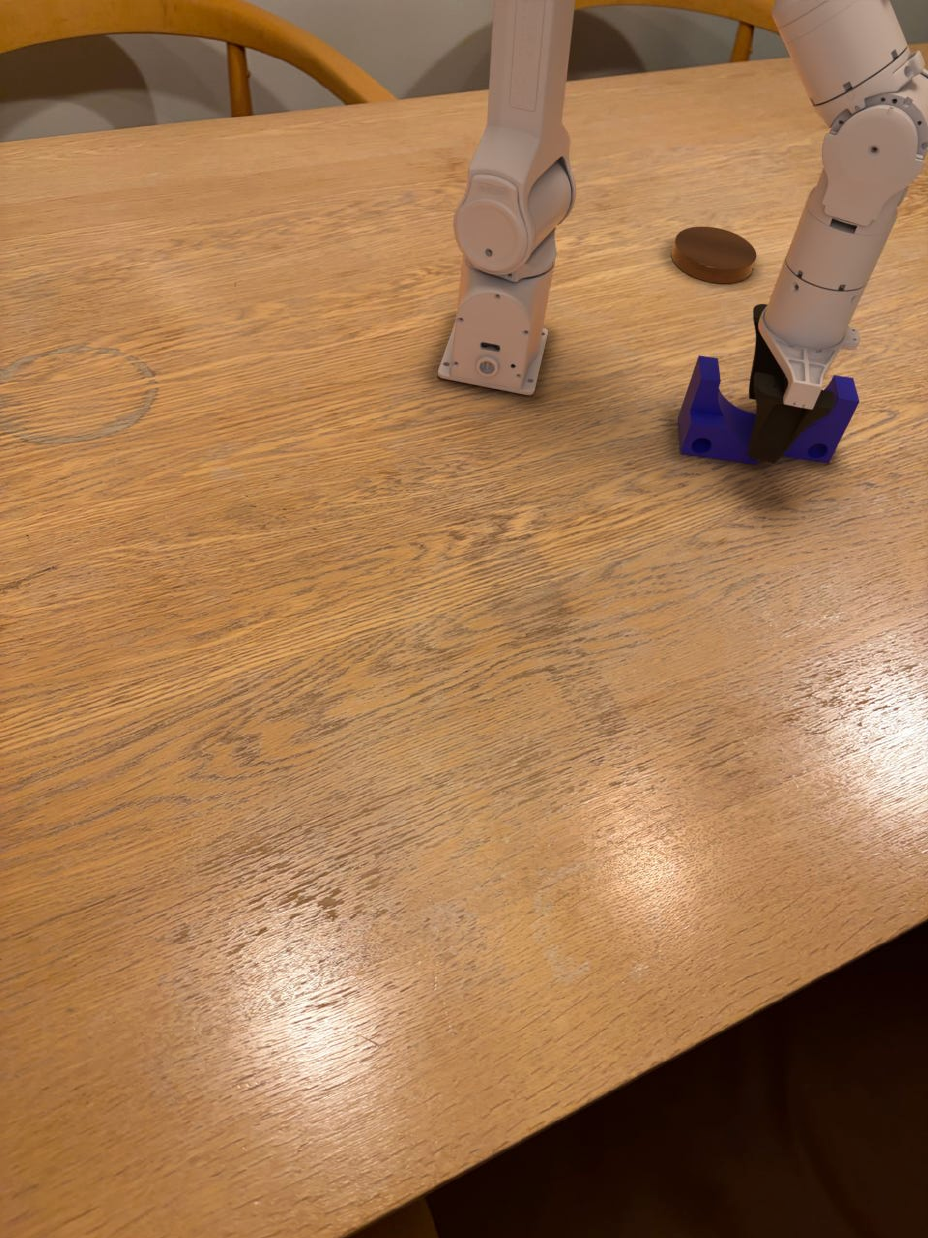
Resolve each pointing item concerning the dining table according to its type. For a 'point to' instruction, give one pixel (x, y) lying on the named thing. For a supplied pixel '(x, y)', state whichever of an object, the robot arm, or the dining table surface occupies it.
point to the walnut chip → (713, 254)
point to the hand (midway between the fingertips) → (761, 427)
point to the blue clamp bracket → (728, 429)
